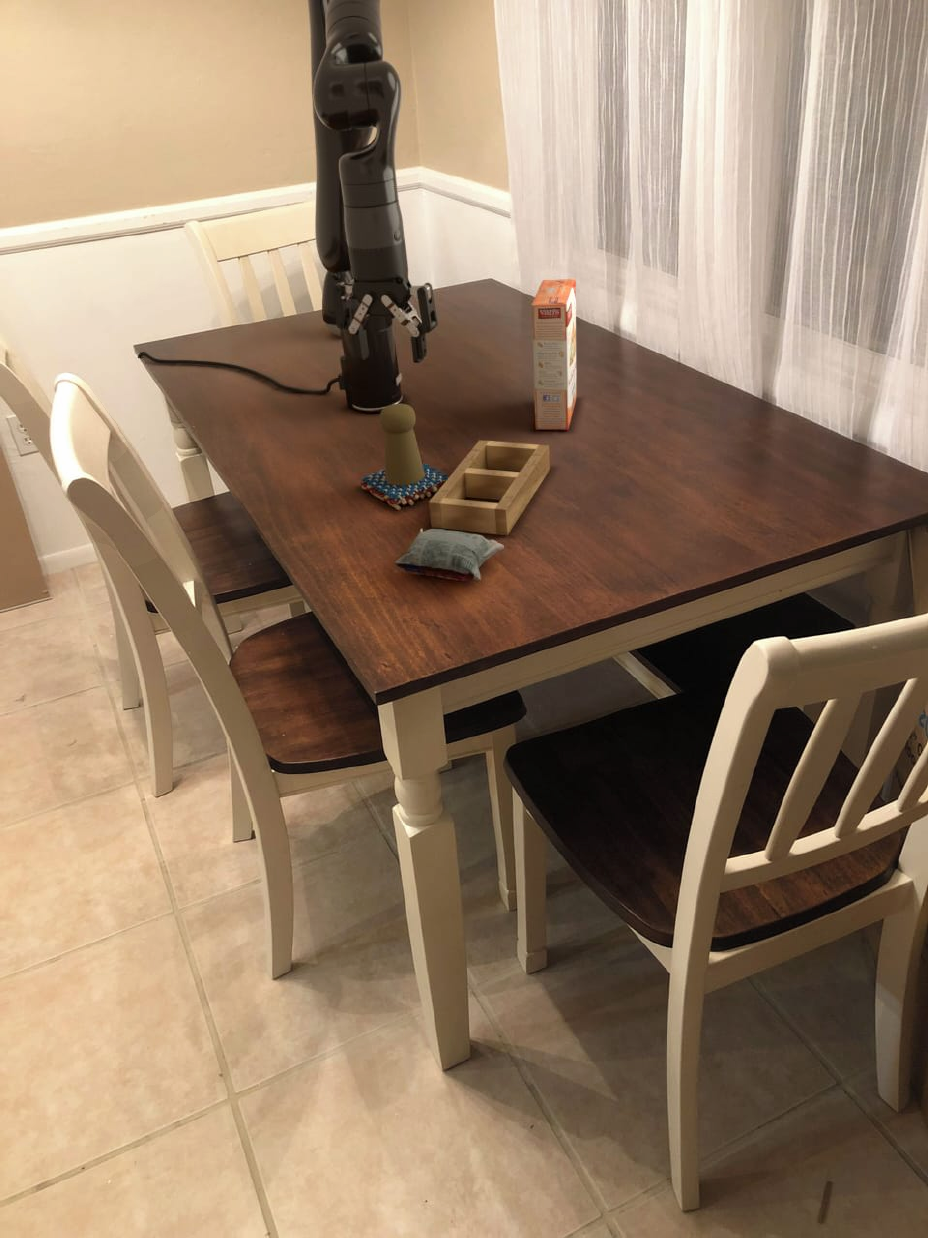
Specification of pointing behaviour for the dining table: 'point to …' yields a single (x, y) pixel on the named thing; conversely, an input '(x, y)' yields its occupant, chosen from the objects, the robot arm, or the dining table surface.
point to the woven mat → (404, 487)
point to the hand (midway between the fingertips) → (390, 359)
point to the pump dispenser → (332, 299)
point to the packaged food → (448, 554)
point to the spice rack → (490, 487)
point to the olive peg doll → (401, 446)
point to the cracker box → (554, 353)
